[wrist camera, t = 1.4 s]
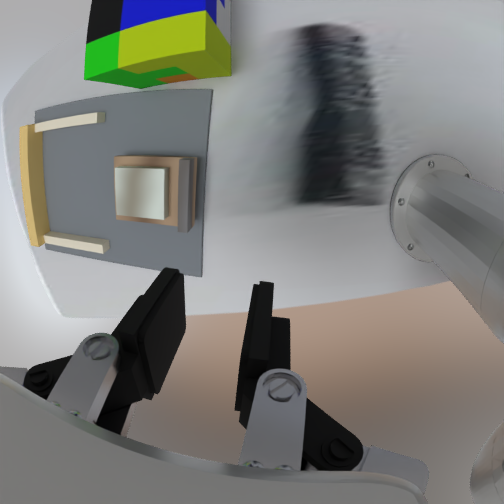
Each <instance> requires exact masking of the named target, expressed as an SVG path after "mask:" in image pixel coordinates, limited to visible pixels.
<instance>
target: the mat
mask: <svg viewBox="0 0 504 504" xmlns="http://www.w3.org/2000/svg"><path fill="white" fill-rule="evenodd" d="M212 91H213V90H212V89H176V90H156V91H143V92H133V93H124V94H116V95H109V96H102V97H96V98H90V99H85V100H79V101H74V102H70V103H65V104H61V105H57V106H53V107H49V108H45V109H41V110H37V111H35V124H31V125H26V126H22V127H20V169H21V182H22V192H23V201H24V208H25V215H26V221H27V227H28V232H29V238H30V242H31V245H32V246H37V247H40V246H41V245H43V244H44V243H45V247H46V249H48V250H52V251H57V252H62V253H67V254H72V255H77V256H82V257H87V258H92V259H97V260H102V261H108V262H113V263H119V264H124V265H130V266H135V267H141V268H147V269H153V270H159V271H162V270H163V269H164V268H165V267H168V268H174V269H179V271H180V273H183V275H189V276H196V277H202V248H203V217H204V195H205V177H206V161H207V147H208V134H209V122H210V111H211V101H212ZM118 155H156V156H184V157H197V173H196V194H195V225H194V226H193V227H192V228H191V229H190V231H189V232H188V233H182V232H178V226H170V225H161V224H152V223H144V222H135V221H125V220H116V209H115V189H114V156H118Z"/></svg>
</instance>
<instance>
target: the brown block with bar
mask: <svg viewBox="0 0 504 504" xmlns="http://www.w3.org/2000/svg"><path fill="white" fill-rule="evenodd" d="M196 173H197V157H184V156H156V155H118V156H114V189H115V209H116V220H125V221H135V222H144V223H152V224H161V225H170V226H178V232H182V233H188V232H189V231H190V229H191V228H192V227H193V226H194V225H195V194H196Z"/></svg>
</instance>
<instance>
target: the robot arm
mask: <svg viewBox="0 0 504 504" xmlns="http://www.w3.org/2000/svg"><path fill="white" fill-rule="evenodd" d="M428 162H429V165H428ZM398 199H400V201H399V202H398ZM390 217H391V225H392V229H393V233H394V235H395V237H396V240H397V241H398V243H399V244H400V245H401V247H402V248H403V249H404V250H405V251H406V253H408V254H409V255H410V256H412V257H413V258H415V259H418V260H420V261H425V262H435V264H436V265H437V266H438V267H439V268H440V269H441V270H442V271H443V272H444V273H445V275H446V276H447V277H448V278H449V279H450V280H451V281H452V282H453V284H454V285H455V286H456V287H457V288H458V289H459V291H460V292H461V293H462V294H463V295H464V297H465V298H466V299H467V300H468V301H469V303H470V304H471V305H472V306H473V308H474V309H475V310H476V312H477V313H478V314H479V315H480V317H481V318H482V319H483V321H484V322H485V323H486V324H487V325H488V327H489V328H490V330H491V331H492V332H493V333H494V335H495V336H496V337H497V338H498V339H499V340H500V341H501V342H503V343H504V193H503V192H501V191H498V190H496V189H494V188H492V187H489V186H487V185H485V184H482V183H480V182H477V181H475V180H474V179H473V177H472V175H471V173H470V172H469V171H468V169H467V168H466V167H465V166H464V165H463V164H462V163H461V162H459V161H458V160H456V159H454V158H452V157H448V156H445V155H437V154H436V155H428V156H425V157H423V158H420V159H419V160H417V161H416V162H414V163H413V164H411V165H410V166H409V167H408V168H407V169H406V170H405V171H404V173H403V174H402V176H401V177H400V179H399V180H398V183H397V185H396V187H395V189H394V193H393V196H392V200H391V209H390ZM273 290H274V283H271V282H263V281H260V284H259V285H258V284H254V285H253V291H252V296H251V302H250V307H249V313H248V319H247V324H246V330H245V335H244V340H243V346H242V352H241V358H240V366H239V374H238V385H237V393H236V402H235V411H240V418H239V422H240V423H241V424H242V425H243V426H244V428H245V429H246V434H245V438H244V442H243V446H242V451H241V454H240V458H239V462H238V465H233V464H227V463H220V462H215V461H210V460H204V459H200V458H195V457H191V456H187V455H183V454H179V453H175V452H171V451H167V450H163V449H160V448H156V447H153V446H150V445H147V444H144V443H141V442H138V441H135V440H132V439H129V438H127V433H128V430H129V427H130V424H131V421H132V418H133V415H134V413H135V410H136V407H137V402H138V401H140V400H142V398H146V399H149V400H152V398H153V396H154V393H155V394H158V393H159V392H160V390H161V387H162V385H163V382H164V380H165V377H166V375H167V373H168V370H169V368H170V366H171V363H172V361H173V359H174V356H175V354H176V352H177V350H178V347H179V345H180V343H181V340H182V338H183V336H184V333H185V329H186V318H185V295H184V275H183V273H180V271H179V269H174V268H168V267H165V268H164V269H163V270H162V271H161V273H160V274H159V275H158V276H157V278H156V279H155V280H154V282H153V283H152V284H151V286H150V287H149V288H148V290H147V291H146V292H145V294H144V295H140V296H139V297H138V298H137V300H136V301H135V302H134V304H133V305H132V306H131V308H130V309H129V310H128V312H127V313H126V315H125V316H124V317H123V319H122V320H121V321H120V323H119V324H118V326H117V327H116V328H115V330H114V331H113V333H112V334H111V335H110V334H107V333H95V334H92V335H90V336H88V337H86V338H85V339H84V340H83V341H82V342H81V343H80V345H79V347H78V348H77V350H76V351H75V353H74V354H73V355H71V356H67V357H64V358H60V359H57V360H53V361H49V362H46V363H42V364H38V365H36V366H33V367H32V368H31V369H29V370H27V368H14V367H0V504H428V503H427V500H426V498H425V496H424V493H425V489H426V486H427V482H428V478H429V471H428V467H427V466H426V464H425V463H424V462H423V461H420V460H418V459H415V458H411V457H408V456H404V455H400V454H397V453H394V452H391V451H387V450H384V449H381V448H378V447H375V446H372V445H371V446H370V447H366V446H363V445H362V444H361V442H360V440H359V439H358V438H357V437H356V436H355V435H354V434H352V433H351V432H350V431H348V430H347V429H346V428H344V427H343V426H342V425H340V424H339V423H338V422H337V421H335V420H334V419H333V418H331V417H330V416H329V415H328V414H326V413H325V412H324V411H323V410H321V409H320V408H319V407H318V406H316V405H315V404H314V403H313V402H311V401H310V400H309V399H308V398H307V387H306V383H305V382H304V380H303V378H302V377H301V376H299V375H298V374H297V373H295V372H293V371H291V370H290V319H288V318H280V317H272V306H273ZM470 490H471V496H472V499H473V502H474V504H504V420H503V422H502V423H501V424H500V425H499V426H498V427H497V428H496V429H495V430H494V432H493V433H492V434H491V435H490V437H489V438H488V439H487V441H486V442H485V443H484V445H483V446H482V448H481V450H480V451H479V453H478V455H477V457H476V459H475V462H474V465H473V468H472V473H471V478H470Z"/></svg>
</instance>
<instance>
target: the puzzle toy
mask: <svg viewBox="0 0 504 504" xmlns="http://www.w3.org/2000/svg"><path fill="white" fill-rule="evenodd" d="M224 76H231V0H92V4H91V11H90V16H89V24H88V32H87V41H86V53H85V71H84V80H90V81H98V82H105V83H111V84H117V85H123V86H128V87H134V88H139V89H142V88H147V87H151V86H157V85H162V84H168V83H174V82H180V81H187V80H194V79H203V78H212V77H224Z"/></svg>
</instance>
